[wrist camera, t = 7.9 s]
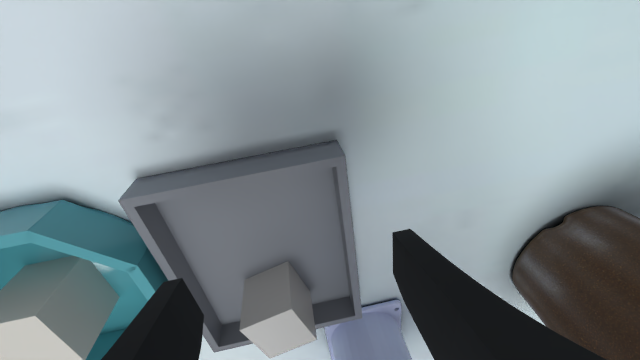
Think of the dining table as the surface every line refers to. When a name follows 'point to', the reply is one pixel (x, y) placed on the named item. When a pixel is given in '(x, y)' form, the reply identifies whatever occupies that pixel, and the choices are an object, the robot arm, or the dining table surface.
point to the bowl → (83, 255)
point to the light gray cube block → (277, 311)
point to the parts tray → (253, 232)
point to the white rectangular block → (54, 310)
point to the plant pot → (587, 280)
